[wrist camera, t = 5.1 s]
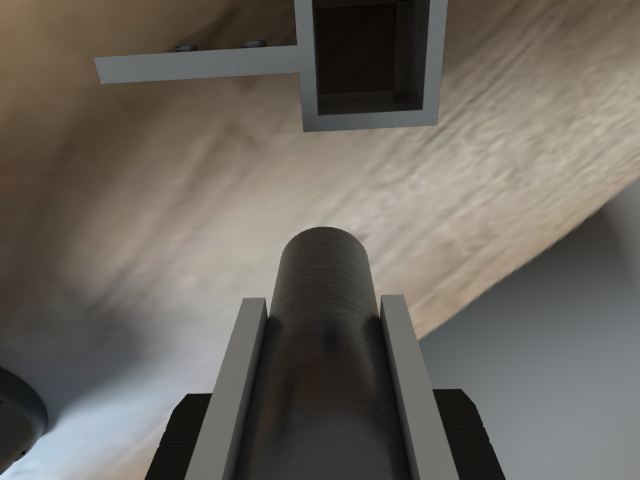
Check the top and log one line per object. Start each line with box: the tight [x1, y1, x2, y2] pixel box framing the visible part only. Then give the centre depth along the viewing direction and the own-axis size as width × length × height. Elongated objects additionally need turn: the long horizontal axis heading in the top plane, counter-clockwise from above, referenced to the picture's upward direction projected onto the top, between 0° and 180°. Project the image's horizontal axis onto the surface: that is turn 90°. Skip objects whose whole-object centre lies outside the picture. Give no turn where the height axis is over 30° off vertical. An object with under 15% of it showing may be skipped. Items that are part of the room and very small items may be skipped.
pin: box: [234, 227, 410, 480], centre depth 10 cm, size 6×6×17 cm
